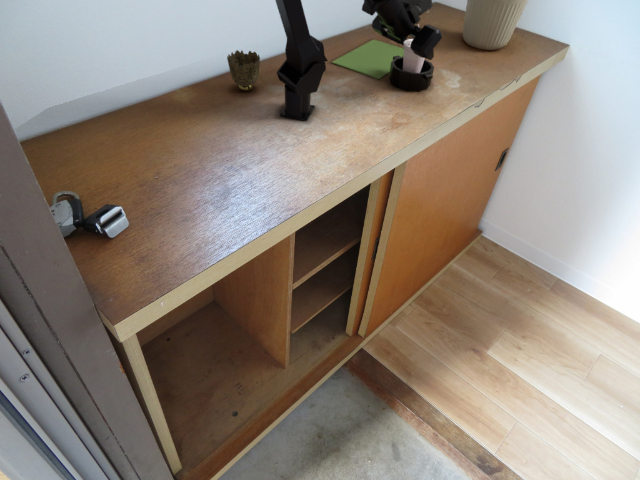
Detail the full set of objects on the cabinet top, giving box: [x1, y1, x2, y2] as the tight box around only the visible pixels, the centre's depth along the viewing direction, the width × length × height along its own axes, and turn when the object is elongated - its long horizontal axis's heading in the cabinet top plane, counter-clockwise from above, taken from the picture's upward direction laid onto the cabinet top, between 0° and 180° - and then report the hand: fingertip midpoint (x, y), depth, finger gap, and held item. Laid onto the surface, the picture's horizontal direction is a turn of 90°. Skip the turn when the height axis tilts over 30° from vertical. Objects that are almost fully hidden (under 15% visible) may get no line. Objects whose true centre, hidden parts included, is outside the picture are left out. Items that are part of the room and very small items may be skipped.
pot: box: [388, 55, 435, 92], centre depth 111 cm, size 10×13×4 cm
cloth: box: [331, 39, 404, 80], centre depth 123 cm, size 22×15×1 cm
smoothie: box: [402, 24, 426, 73], centre depth 108 cm, size 6×6×14 cm
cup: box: [226, 49, 261, 93], centre depth 103 cm, size 8×7×8 cm
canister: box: [462, 0, 529, 51], centre depth 127 cm, size 18×18×21 cm
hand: (419, 51), depth 108 cm, fingers open, 9 cm apart
